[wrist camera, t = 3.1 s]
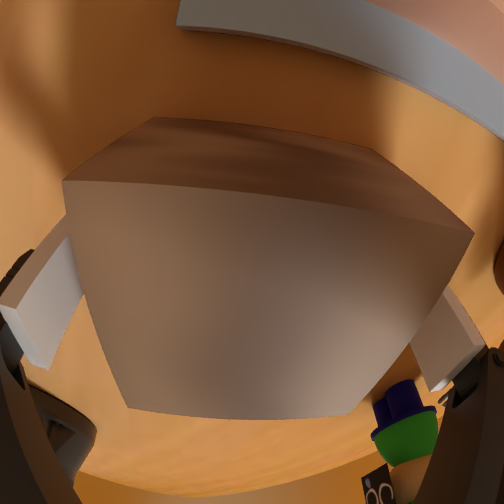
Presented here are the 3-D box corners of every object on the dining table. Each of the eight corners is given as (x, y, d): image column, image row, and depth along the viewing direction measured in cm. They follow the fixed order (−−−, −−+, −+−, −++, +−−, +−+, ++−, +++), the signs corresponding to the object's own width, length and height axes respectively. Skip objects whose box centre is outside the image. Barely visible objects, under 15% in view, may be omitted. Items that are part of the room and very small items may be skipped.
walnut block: (156, 290, 15) (127, 407, 9) (154, 117, 10) (61, 180, 4) (317, 303, 16) (347, 414, 11) (370, 148, 11) (474, 232, 6)
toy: (372, 380, 22) (412, 534, 10) (444, 365, 23) (491, 490, 10) (343, 419, 27) (366, 538, 15) (408, 406, 28) (437, 510, 16)
